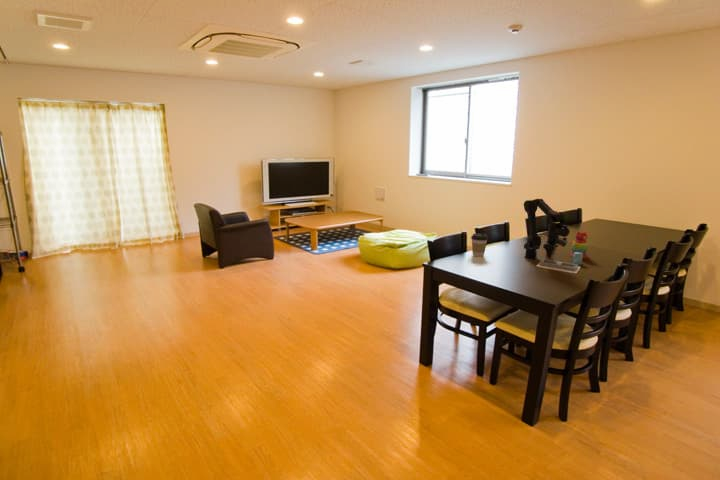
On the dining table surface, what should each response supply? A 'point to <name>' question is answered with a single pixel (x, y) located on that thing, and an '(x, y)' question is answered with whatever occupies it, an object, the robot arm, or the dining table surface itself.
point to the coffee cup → (479, 244)
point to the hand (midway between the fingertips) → (550, 257)
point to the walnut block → (551, 256)
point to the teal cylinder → (577, 258)
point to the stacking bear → (580, 244)
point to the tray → (559, 266)
